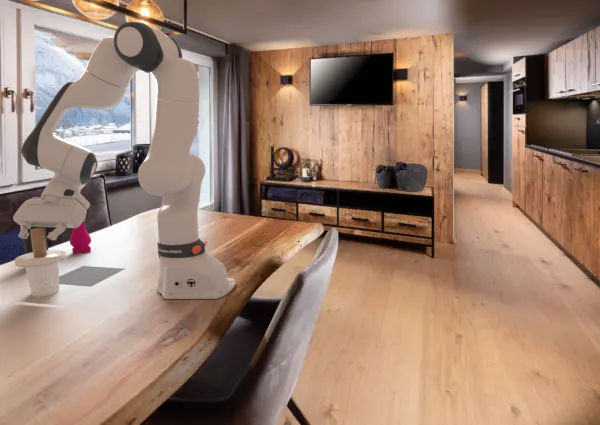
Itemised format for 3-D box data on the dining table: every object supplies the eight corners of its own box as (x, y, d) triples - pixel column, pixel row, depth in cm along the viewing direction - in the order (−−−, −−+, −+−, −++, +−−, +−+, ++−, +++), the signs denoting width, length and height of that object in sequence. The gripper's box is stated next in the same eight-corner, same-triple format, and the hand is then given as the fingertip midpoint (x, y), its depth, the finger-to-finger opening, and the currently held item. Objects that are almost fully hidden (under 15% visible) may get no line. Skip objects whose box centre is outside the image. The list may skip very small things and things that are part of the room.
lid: (75, 254, 119) (71, 224, 117) (42, 268, 107) (37, 235, 105) (40, 253, 121) (36, 223, 119) (3, 265, 109) (-2, 233, 108)
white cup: (51, 299, 112) (46, 264, 110) (22, 299, 112) (17, 264, 110) (67, 288, 120) (63, 255, 118) (41, 288, 120) (36, 255, 118)
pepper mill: (95, 251, 157) (89, 200, 153) (75, 256, 152) (68, 203, 148) (88, 248, 162) (82, 198, 158) (68, 252, 156) (61, 200, 152)
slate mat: (125, 270, 135) (125, 268, 135) (91, 288, 120) (91, 286, 119) (83, 267, 138) (83, 265, 138) (45, 284, 123) (44, 282, 123)
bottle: (36, 261, 146) (28, 206, 142) (54, 261, 145) (47, 206, 141) (22, 267, 139) (13, 209, 135) (40, 267, 138) (32, 210, 135)
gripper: (22, 190, 119) (-4, 231, 112) (82, 192, 115) (60, 234, 107) (37, 203, 124) (13, 242, 117) (95, 204, 120) (74, 245, 113)
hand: (36, 238), depth 112 cm, fingers open, 8 cm apart
